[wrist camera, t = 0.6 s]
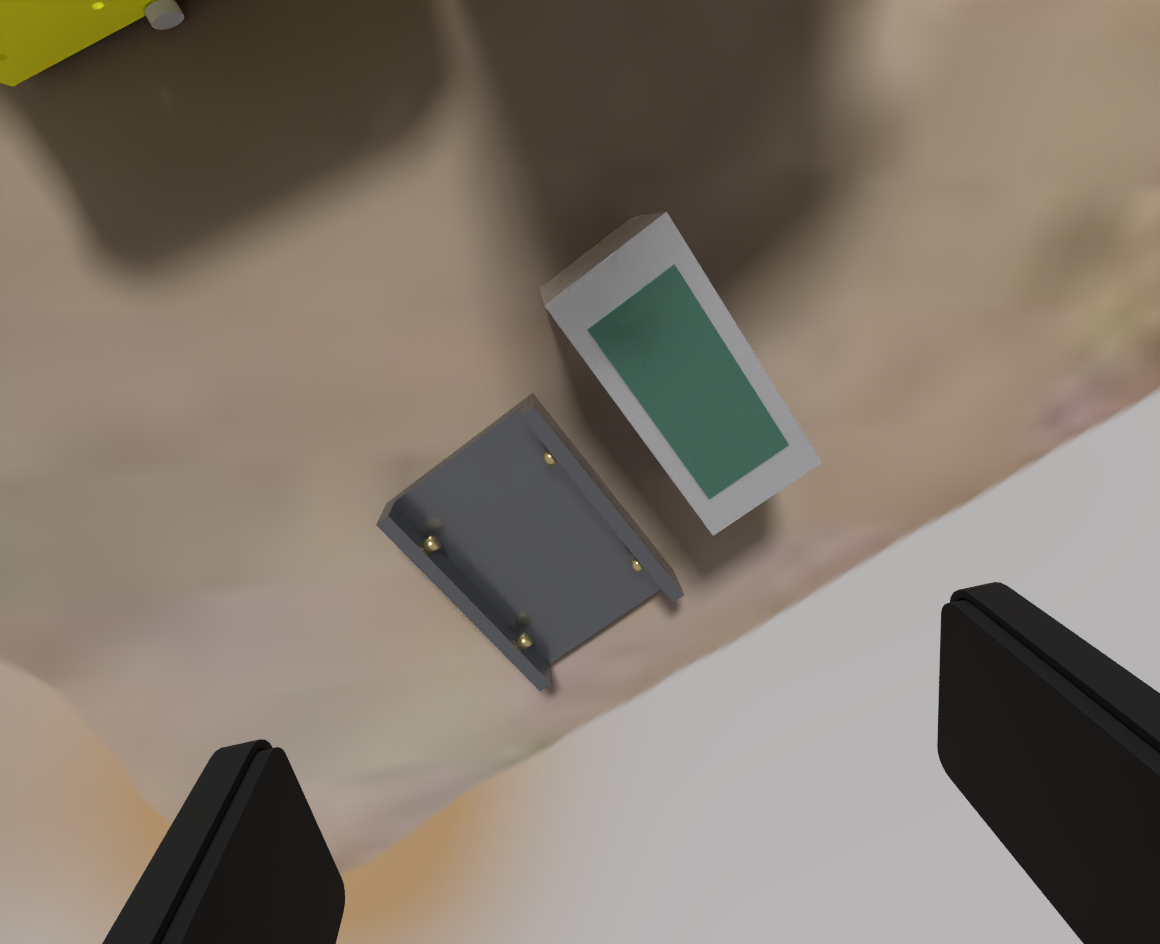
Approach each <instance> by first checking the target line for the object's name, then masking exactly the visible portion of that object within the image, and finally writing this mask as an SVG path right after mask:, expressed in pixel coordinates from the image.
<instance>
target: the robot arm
mask: <svg viewBox="0 0 1160 944" xmlns="http://www.w3.org/2000/svg"><path fill="white" fill-rule="evenodd" d="M940 642H941V643H940V676H939V711H938V714H939V715H938V754H939V758H940V761H941V764H942V766H943V768H944V770H945V772H946V773H947V775H948V776H949V777H950V779H951V780H952V781H953V783H954V784H955V785H956V786H957V788H958V789H959V790H960V791H961V792H962V794H963V795H964V796H965V797H966V799H967V800H968V801H969V802H970V804H971V805H972V806H973V807H974V809H975V810H976V811H977V812H978V814H979V815H980V816H981V817H982V818H983V820H984V821H985V822H986V823H987V825H988V826H989V827H990V828H991V830H992V831H993V832H994V833H995V834H996V836H997V837H998V838H999V840H1000V841H1001V842H1002V843H1003V844H1004V846H1005V847H1006V848H1007V849H1008V851H1009V852H1010V853H1011V854H1012V856H1013V857H1014V858H1015V859H1016V861H1017V862H1018V863H1019V864H1020V866H1021V867H1022V868H1023V869H1024V870H1025V872H1026V873H1027V874H1028V875H1029V877H1030V878H1031V879H1032V880H1033V882H1034V883H1035V884H1036V885H1037V887H1038V888H1039V889H1040V890H1041V891H1042V893H1043V894H1044V895H1045V896H1046V898H1047V899H1048V900H1049V901H1050V903H1051V904H1052V905H1053V906H1054V908H1055V909H1056V910H1057V911H1058V912H1059V914H1060V915H1061V916H1062V917H1063V919H1064V920H1065V921H1066V922H1067V924H1068V925H1069V926H1070V927H1071V929H1072V930H1073V931H1074V932H1075V934H1076V935H1077V936H1078V937H1079V938H1080V940H1081V941H1082V942H1083V943H1084V944H1160V693H1158V692H1157V691H1156V690H1154V689H1153V688H1151V687H1150V686H1149V685H1147V684H1146V683H1144V682H1143V681H1142V680H1140V679H1139V678H1137V677H1136V676H1134V675H1133V674H1132V673H1130V672H1129V671H1127V670H1126V669H1125V668H1123V667H1122V666H1120V665H1119V664H1117V663H1116V662H1115V661H1113V660H1112V659H1110V658H1109V657H1107V656H1106V655H1105V654H1103V653H1101V652H1100V651H1099V650H1098V649H1096V648H1095V647H1093V646H1092V645H1090V644H1089V643H1087V642H1086V641H1085V640H1083V639H1082V638H1080V637H1079V636H1078V635H1076V634H1075V633H1073V632H1072V631H1070V630H1069V629H1068V628H1066V627H1065V626H1063V625H1062V624H1060V623H1059V622H1058V621H1056V620H1055V619H1054V618H1052V617H1051V616H1049V615H1048V614H1046V613H1045V612H1043V611H1042V610H1041V609H1039V608H1038V607H1036V606H1035V605H1034V604H1032V603H1031V602H1029V601H1028V600H1026V599H1025V598H1024V597H1022V596H1021V595H1019V594H1018V593H1017V592H1015V591H1014V590H1012V589H1011V588H1009V587H1008V586H1006V585H1004V584H1002V583H997V582H993V583H989V584H984V585H980V586H975V587H970V588H965V589H961V590H957V591H955V592H954V593H953V594H952V596H951V599H950V603H947V604H945V605H944V606H943V608H942V612H941V639H940ZM344 905H345V890H344V884H343V881H342V878H341V876H340V873H339V871H338V869H337V867H336V865H335V862H334V860H333V858H332V856H331V853H330V851H329V849H328V847H327V845H326V842H325V840H324V838H323V836H322V833H321V831H320V829H319V827H318V825H317V822H316V820H315V818H314V816H313V813H312V811H311V809H310V807H309V805H308V802H307V800H306V798H305V796H304V793H303V791H302V789H301V787H300V785H299V782H298V780H297V778H296V776H295V773H294V771H293V769H292V767H291V765H290V762H289V760H288V758H287V756H286V754H285V752H284V750H283V749H281V748H279V747H276V748H272V746H271V744H270V743H269V742H267V741H266V740H256V741H251V742H246V743H242V744H237V745H232V746H228V747H223V748H220V749H219V750H217V751H215V753H214V754H213V755H212V757H211V758H210V760H209V761H208V763H207V765H206V767H205V768H204V770H203V772H202V773H201V775H200V777H199V779H198V780H197V782H196V784H195V785H194V787H193V789H192V791H191V792H190V794H189V796H188V797H187V799H186V801H185V803H184V804H183V806H182V808H181V809H180V811H179V813H178V815H177V816H176V818H175V820H174V821H173V823H172V825H171V827H170V828H169V830H168V832H167V834H166V835H165V837H164V839H163V840H162V842H161V844H160V845H159V847H158V849H157V851H156V852H155V854H154V856H153V858H152V859H151V861H150V863H149V864H148V866H147V868H146V870H145V871H144V873H143V875H142V876H141V878H140V880H139V882H138V883H137V885H136V887H135V889H134V890H133V892H132V894H131V895H130V897H129V899H128V900H127V902H126V904H125V906H124V907H123V909H122V911H121V912H120V914H119V916H118V918H117V919H116V921H115V923H114V924H113V926H112V928H111V930H110V931H109V933H108V935H107V936H106V938H105V940H104V942H103V943H102V944H336V940H337V936H338V932H339V928H340V924H341V920H342V916H343V911H344Z"/></svg>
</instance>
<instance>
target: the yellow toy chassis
mask: <svg viewBox="0 0 1160 944" xmlns="http://www.w3.org/2000/svg"><path fill="white" fill-rule="evenodd" d="M144 16H146V17H147V19H148V20H149V22H150V24H151V25H152V27H153V28H154V29H157V30H164V29H169V28H173V27H175V26H177V25H178V24H180V23H181V22H182V21H183V19H184V15H183V13H182V11H181V9H180V8H179V6H178V4H177V3H176V1H174V0H0V83H2V84H6V85H10V86H15V85H17V84H19V83H21V82H22V81H24V80H26V79H28V78H30V77H32V76H34V75H36V74H37V73H39V72H41V71H43V70H45V69H47V68H49V67H50V66H52V65H54V64H56V63H58V62H60V61H62V60H64V59H65V58H67V57H69V56H71V55H73V54H75V53H77V52H78V51H80V50H82V49H84V48H86V47H88V46H90V45H92V44H93V43H95V42H97V41H99V40H101V39H103V38H105V37H106V36H108V35H110V34H112V33H114V32H116V31H118V30H120V29H121V28H123V27H125V26H127V25H129V24H131V23H133V22H134V21H136V20H138V19H140V18H142V17H144Z"/></svg>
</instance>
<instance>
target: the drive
mask: <svg viewBox="0 0 1160 944" xmlns="http://www.w3.org/2000/svg"><path fill="white" fill-rule="evenodd" d="M539 290H540V294H541V297H542V300H543V303H544V306H545V307H546V309H547V310H548V311H549V313H550V314H551V316H552V317H553V318H554V320H555V321H556V322H557V324H558V325H559V326H560V328H561V329H562V331H563V332H564V333H565V335H566V336H567V337H568V339H569V340H570V341H571V343H572V344H573V346H574V347H575V348H576V350H577V351H578V352H579V354H580V355H581V356H582V358H583V359H584V361H585V362H586V363H587V365H588V366H589V367H590V369H591V370H592V371H593V373H594V374H595V376H596V377H597V378H598V380H599V381H600V382H601V384H602V385H603V386H604V388H605V389H606V391H607V392H608V393H609V395H610V396H611V397H612V399H613V400H614V401H615V403H616V404H617V406H618V407H619V408H620V410H621V411H622V412H623V414H624V415H625V416H626V418H627V419H628V421H629V422H630V423H631V425H632V426H633V427H634V429H635V430H636V431H637V433H638V434H639V436H640V437H641V438H642V440H643V441H644V442H645V444H646V445H647V446H648V448H649V449H650V451H651V452H652V453H653V455H654V456H655V457H656V459H657V460H658V461H659V463H660V464H661V466H662V467H663V468H664V470H665V471H666V472H667V474H668V475H669V476H670V478H671V479H672V481H673V482H674V483H675V485H676V486H677V487H678V489H679V490H680V491H681V493H682V494H683V496H684V497H685V498H686V500H687V501H688V502H689V504H690V505H691V506H692V508H693V509H694V511H695V512H696V513H697V515H698V516H699V517H700V519H701V520H702V521H703V523H704V524H705V526H706V527H707V528H708V530H709V531H710V532H711V534H712V535H713V536H714V535H715V534H717V533H718V532H720V531H721V530H723V529H724V528H726V527H727V526H729V525H730V524H732V523H733V522H735V521H736V520H737V519H739V518H740V517H742V516H743V515H745V514H746V513H748V512H749V511H751V510H752V509H754V508H755V507H757V506H758V505H760V504H761V503H763V502H764V501H766V500H767V499H769V498H770V497H772V496H773V495H775V494H776V493H778V492H779V491H781V490H782V489H784V488H785V487H787V486H788V485H790V484H791V483H793V482H794V481H796V480H797V479H799V478H800V477H802V476H803V475H804V474H806V473H807V472H809V471H810V470H812V469H813V468H815V467H816V466H818V465H819V464H821V463H822V462H821V460H820V458H819V457H818V455H817V454H816V452H815V450H814V449H813V447H812V446H811V444H810V442H809V441H808V439H807V437H806V436H805V434H804V433H803V431H802V429H801V428H800V426H799V425H798V423H797V421H796V420H795V418H794V416H793V415H792V413H791V412H790V410H789V408H788V407H787V405H786V404H785V402H784V400H783V399H782V397H781V395H780V394H779V392H778V391H777V389H776V387H775V386H774V384H773V383H772V381H771V379H770V378H769V376H768V374H767V373H766V371H765V370H764V368H763V366H762V365H761V363H760V362H759V360H758V358H757V357H756V355H755V353H754V352H753V350H752V349H751V347H750V345H749V344H748V342H747V341H746V339H745V337H744V336H743V334H742V332H741V331H740V329H739V328H738V326H737V324H736V323H735V321H734V320H733V318H732V316H731V315H730V313H729V311H728V310H727V308H726V307H725V305H724V303H723V302H722V300H721V299H720V297H719V295H718V294H717V292H716V290H715V289H714V287H713V286H712V284H711V282H710V281H709V279H708V278H707V276H706V274H705V273H704V271H703V269H702V268H701V266H700V265H699V263H698V261H697V260H696V258H695V257H694V255H693V253H692V252H691V250H690V248H689V247H688V245H687V244H686V242H685V240H684V239H683V237H682V236H681V234H680V232H679V231H678V229H677V227H676V226H675V224H674V223H673V221H672V219H671V218H670V216H669V215H668V213H667V212H660V213H653V214H646V215H638V216H632V217H631V218H629V219H628V220H627V221H626V222H624V223H623V224H622V225H620V226H619V227H618V228H617V229H615V230H614V231H613V232H611V233H610V234H609V235H607V236H606V237H605V238H604V239H602V240H601V241H600V242H598V243H597V244H596V245H595V246H593V247H592V248H591V249H589V250H588V251H587V252H586V253H584V254H583V255H582V256H580V257H579V258H578V259H577V260H575V261H574V262H573V263H571V264H570V265H569V266H567V267H566V268H565V269H564V270H562V271H561V272H560V273H558V274H557V275H556V276H555V277H553V278H552V279H551V280H549V281H548V282H547V283H546V284H544V285H543V286H542V287H540V288H539Z"/></svg>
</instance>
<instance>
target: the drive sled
mask: <svg viewBox="0 0 1160 944" xmlns="http://www.w3.org/2000/svg"><path fill="white" fill-rule="evenodd" d="M376 525H377V526H378V527H379V528H380V529H381V530H382V531H383V532H384V533H385V534H386V535H387V536H388V537H389V538H390V539H391V540H392V541H393V542H394V543H395V544H396V545H397V546H398V547H399V548H400V549H401V550H402V551H403V552H404V553H405V554H406V555H407V556H408V557H409V558H410V559H411V561H412V562H413V563H414V564H415V565H416V566H417V567H418V568H419V569H420V570H421V571H422V572H423V573H424V574H425V575H426V576H427V577H428V578H429V579H430V580H431V581H432V582H433V583H434V584H435V585H436V586H437V587H438V588H439V589H440V590H441V591H442V592H443V593H444V594H445V595H446V596H447V597H448V598H449V599H450V600H451V601H452V602H453V603H454V604H455V605H456V606H457V607H458V608H459V609H460V610H461V611H462V612H463V613H464V614H465V615H466V616H467V617H468V618H469V619H470V620H471V621H472V622H473V623H474V624H475V625H476V626H477V627H478V628H479V629H480V630H481V631H482V633H483V634H484V635H485V636H486V637H487V638H488V639H489V640H490V641H491V642H492V643H493V644H494V645H495V646H496V647H497V648H498V649H499V650H500V651H501V652H502V653H503V654H504V655H505V656H506V657H507V658H508V659H509V660H510V661H511V662H512V663H513V664H514V665H515V666H516V667H517V668H518V669H519V670H520V671H521V672H522V673H523V674H524V675H525V676H526V677H527V678H528V679H529V680H530V681H531V682H532V683H533V684H534V685H535V686H536V687H537V688H538V689H539V690H540V691H541V690H543V689H544V688H546V687H547V686H549V685H550V684H551V673H550V664H551V663H552V662H554V661H555V660H557V659H558V658H559V657H561V656H562V655H564V654H565V653H567V652H568V651H570V650H571V649H573V648H574V647H576V646H577V645H579V644H580V643H582V642H583V641H585V640H586V639H588V638H589V637H591V636H592V635H594V634H595V633H597V632H598V631H600V630H601V629H603V628H604V627H605V626H607V625H608V624H610V623H611V622H613V621H614V620H616V619H617V618H619V617H620V616H622V615H623V614H625V613H626V612H628V611H629V610H631V609H632V608H634V607H635V606H637V605H638V604H640V603H641V602H643V601H644V600H646V599H647V598H649V597H650V596H652V595H653V594H654V593H656V592H657V591H659V590H660V589H662V590H663V592H664V593H665V594H666V595H667V596H668V598H669V599H670V600H671V601H672V603H673V602H675V601H676V600H678V599H679V598H681V597H682V596H684V593H683V591H682V588H681V586H680V584H679V582H678V580H677V577H676V575H675V573H674V571H673V569H672V568H671V567H670V566H669V564H668V563H667V562H666V561H665V559H664V558H663V557H662V555H661V554H660V553H659V552H658V550H657V549H656V548H655V547H654V545H653V544H652V543H651V542H650V540H649V539H648V538H647V537H646V535H645V534H644V533H643V532H642V530H641V529H640V528H639V527H638V525H637V524H636V523H635V521H634V520H633V519H632V518H631V516H630V515H629V514H628V513H627V511H626V510H625V509H624V508H623V506H622V505H621V504H620V503H619V501H618V500H617V499H616V498H615V496H614V495H613V494H612V492H611V491H610V490H609V489H608V487H607V486H606V485H605V484H604V482H603V481H602V480H601V479H600V477H599V476H598V475H597V474H596V472H595V471H594V470H593V469H592V467H591V466H590V465H589V464H588V462H587V461H586V460H585V458H584V457H583V456H582V455H581V453H580V452H579V451H578V450H577V448H576V447H575V446H574V445H573V443H572V442H571V441H570V440H569V438H568V437H567V436H566V435H565V433H564V432H563V431H562V429H561V428H560V427H559V426H558V424H557V423H556V422H555V421H554V419H553V418H552V417H551V416H550V414H549V413H548V412H547V411H546V409H545V408H544V407H543V406H542V404H541V403H540V402H539V401H538V399H537V398H536V397H535V395H534V394H533V393H532V394H531V395H530V396H528V397H527V398H526V399H524V400H523V401H522V402H520V403H519V404H518V405H516V406H515V407H514V408H512V409H511V410H510V411H508V412H507V413H506V414H505V415H503V416H502V417H501V418H499V419H498V420H497V421H495V422H494V423H493V424H491V425H490V426H489V427H487V428H486V429H485V430H483V431H482V432H481V433H479V434H478V435H477V436H475V437H474V438H473V439H471V440H470V441H469V442H467V443H466V444H465V445H463V446H462V447H461V448H459V449H458V450H457V451H456V452H454V453H453V454H452V455H450V456H449V457H448V458H446V459H445V460H444V461H442V462H441V463H440V464H438V465H437V466H436V467H434V468H433V469H432V470H430V471H429V472H428V473H426V474H425V475H424V476H422V477H421V478H420V479H418V480H417V481H416V482H414V483H413V484H412V485H410V486H409V487H408V488H407V489H405V490H404V491H403V492H401V493H400V494H399V495H397V496H396V497H395V498H393V499H392V500H391V501H389V502H388V503H387V504H386V506H385V508H384V510H383V512H382V514H381V516H380V518H379V520H378V522H377V524H376Z"/></svg>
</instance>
